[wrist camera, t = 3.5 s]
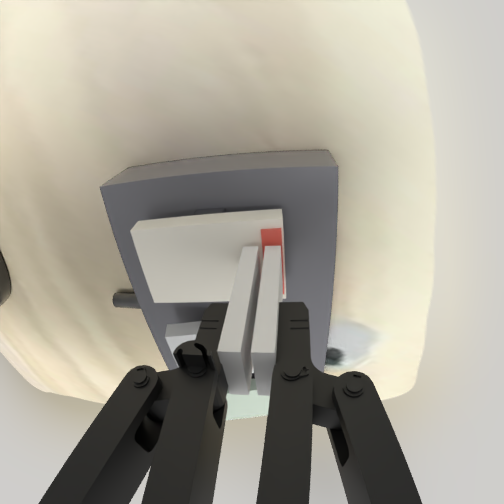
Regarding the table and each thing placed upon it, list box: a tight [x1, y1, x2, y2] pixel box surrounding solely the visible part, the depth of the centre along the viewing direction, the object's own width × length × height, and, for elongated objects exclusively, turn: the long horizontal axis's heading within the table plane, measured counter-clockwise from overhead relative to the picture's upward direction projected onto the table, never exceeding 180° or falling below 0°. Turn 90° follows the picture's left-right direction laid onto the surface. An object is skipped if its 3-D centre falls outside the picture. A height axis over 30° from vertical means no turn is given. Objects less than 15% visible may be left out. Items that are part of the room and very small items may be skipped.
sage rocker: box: [226, 379, 270, 420], centre depth 24 cm, size 8×5×1 cm, turn 96°
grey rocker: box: [165, 321, 254, 373], centre depth 20 cm, size 8×5×1 cm, turn 96°
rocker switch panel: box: [100, 150, 338, 379], centre depth 23 cm, size 19×24×5 cm
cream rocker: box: [130, 209, 286, 303], centre depth 16 cm, size 8×5×1 cm, turn 95°
